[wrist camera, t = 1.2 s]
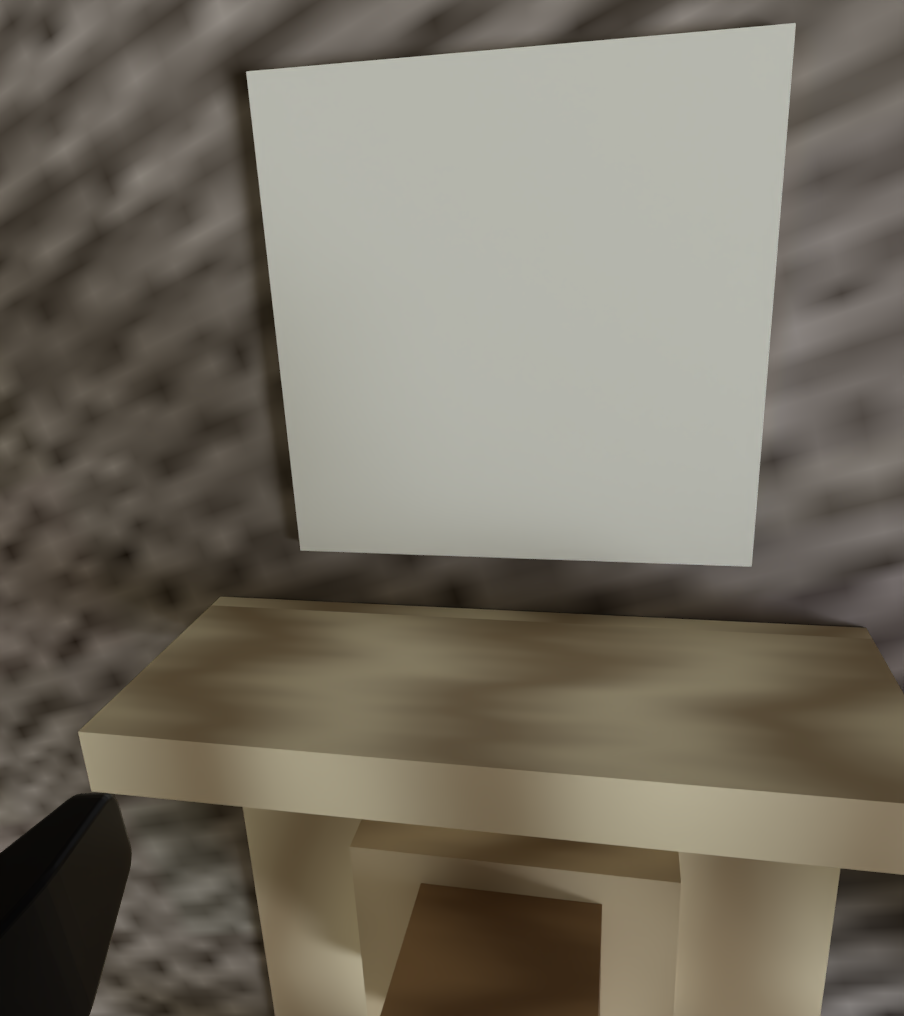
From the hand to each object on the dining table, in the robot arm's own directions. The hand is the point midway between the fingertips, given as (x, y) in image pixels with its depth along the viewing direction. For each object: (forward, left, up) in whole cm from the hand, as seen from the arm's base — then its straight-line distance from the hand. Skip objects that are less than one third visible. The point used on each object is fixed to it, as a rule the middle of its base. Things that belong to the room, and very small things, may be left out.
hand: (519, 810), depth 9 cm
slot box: (-10, +9, -13) cm, 19 cm away
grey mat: (+4, -1, -13) cm, 14 cm away
